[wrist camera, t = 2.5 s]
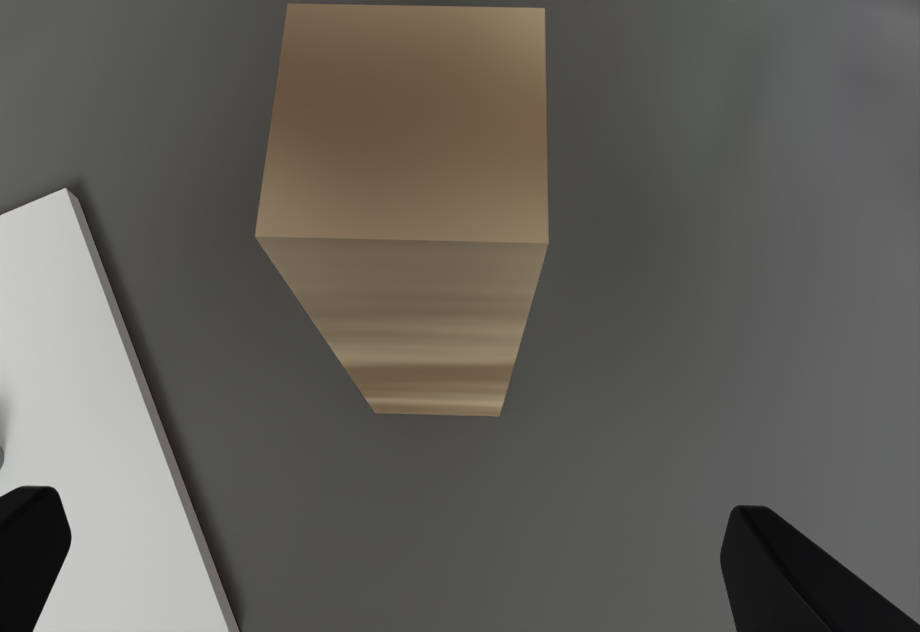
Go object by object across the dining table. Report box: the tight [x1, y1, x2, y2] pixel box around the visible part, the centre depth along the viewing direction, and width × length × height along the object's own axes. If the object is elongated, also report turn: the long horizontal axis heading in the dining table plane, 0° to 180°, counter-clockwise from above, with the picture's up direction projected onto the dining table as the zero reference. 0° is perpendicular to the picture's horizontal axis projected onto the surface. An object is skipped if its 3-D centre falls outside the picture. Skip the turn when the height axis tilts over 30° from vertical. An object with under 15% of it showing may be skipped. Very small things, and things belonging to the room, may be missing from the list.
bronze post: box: [255, 3, 549, 416], centre depth 16 cm, size 4×4×13 cm
